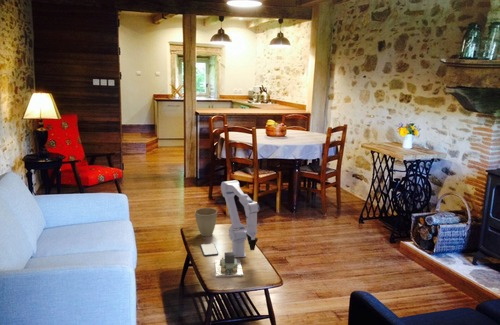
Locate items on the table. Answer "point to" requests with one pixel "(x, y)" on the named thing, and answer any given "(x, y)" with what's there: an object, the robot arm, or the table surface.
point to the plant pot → (206, 220)
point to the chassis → (228, 270)
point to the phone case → (209, 249)
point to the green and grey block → (229, 260)
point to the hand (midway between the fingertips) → (251, 247)
